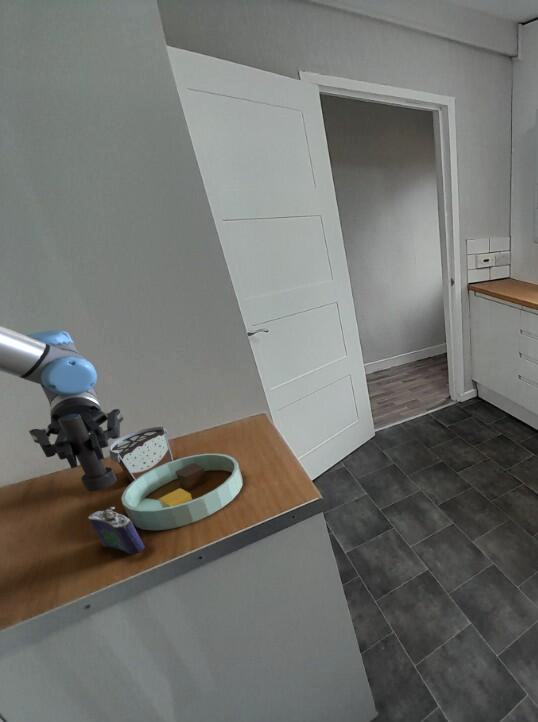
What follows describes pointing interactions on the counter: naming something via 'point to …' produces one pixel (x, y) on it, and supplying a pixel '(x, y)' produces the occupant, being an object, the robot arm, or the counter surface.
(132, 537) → the flask
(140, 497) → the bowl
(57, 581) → the counter surface
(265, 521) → the counter surface
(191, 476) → the walnut block
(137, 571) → the counter surface
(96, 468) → the dark cylinder with base
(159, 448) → the food container
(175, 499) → the mustard block
